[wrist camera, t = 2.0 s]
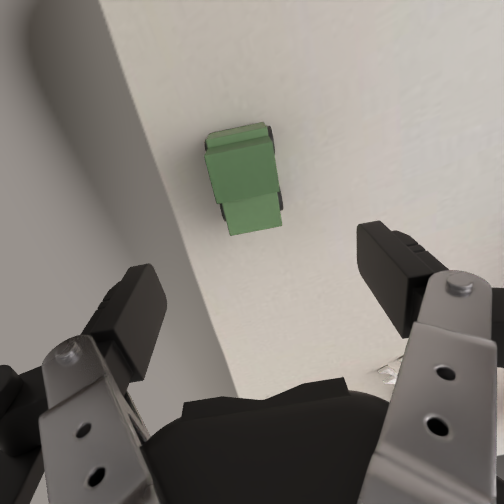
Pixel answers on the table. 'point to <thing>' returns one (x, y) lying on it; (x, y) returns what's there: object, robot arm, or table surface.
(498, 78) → the table surface
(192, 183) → the table surface
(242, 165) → the toy truck
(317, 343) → the table surface
